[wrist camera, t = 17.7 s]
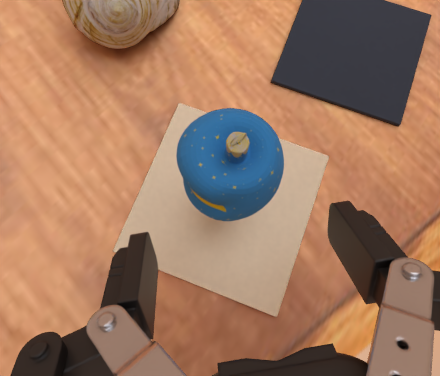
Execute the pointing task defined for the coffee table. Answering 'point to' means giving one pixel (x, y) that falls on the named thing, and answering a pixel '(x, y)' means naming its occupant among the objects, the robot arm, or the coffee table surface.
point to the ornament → (230, 163)
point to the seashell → (119, 19)
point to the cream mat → (226, 225)
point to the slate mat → (354, 55)
